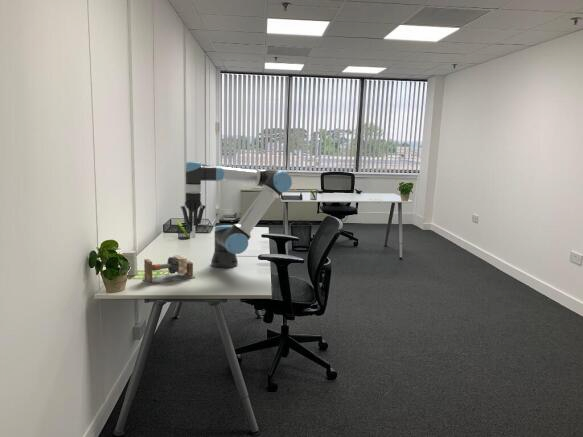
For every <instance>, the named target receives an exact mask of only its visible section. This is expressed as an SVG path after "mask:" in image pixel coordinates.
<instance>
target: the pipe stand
mask: <svg viewBox="0 0 583 437" xmlns="http://www.w3.org/2000/svg"><path fill="white" fill-rule="evenodd" d="M143 262H144V264H143V266H144V270H143V271H144V278H142V281H143V282H144V283H146V284H147V286H151V285H158V284H165V283H171V282H177V281H178V282H179V281H184V280H190V279H195V278H196V277H195V275H194V263H193V262H192V261H190V260H187V273H184V274H178V273H173V274H169V275H167V274H166V275H160V276H154V277H153V272H155V271H161V270H166V269H168V268H172V264H171V263H161V264H160V263H156V264H153V261H152V260H150V259H148V258H145V259H144V260H143ZM176 265H177V267H178V262H176Z"/></svg>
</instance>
